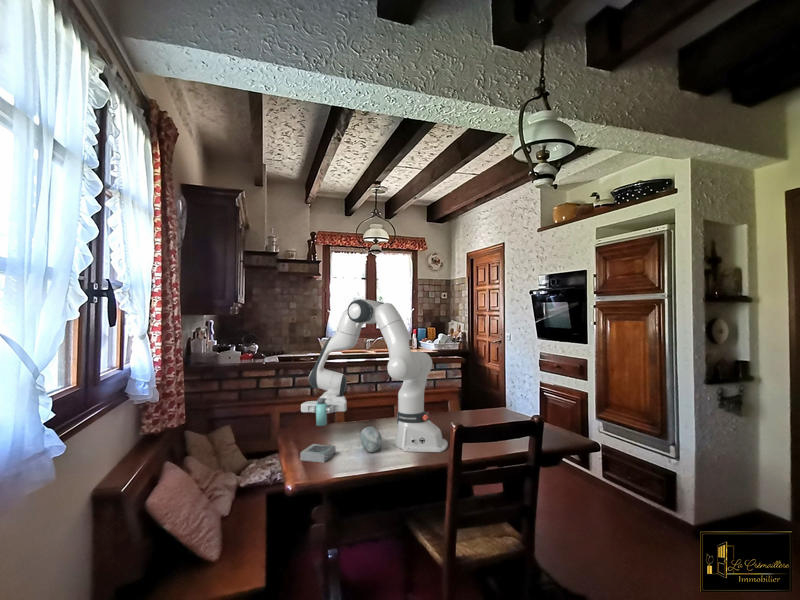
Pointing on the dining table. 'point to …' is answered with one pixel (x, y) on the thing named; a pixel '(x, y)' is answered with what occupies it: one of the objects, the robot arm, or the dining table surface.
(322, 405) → the bottle
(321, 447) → the housing
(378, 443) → the spool
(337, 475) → the dining table surface
